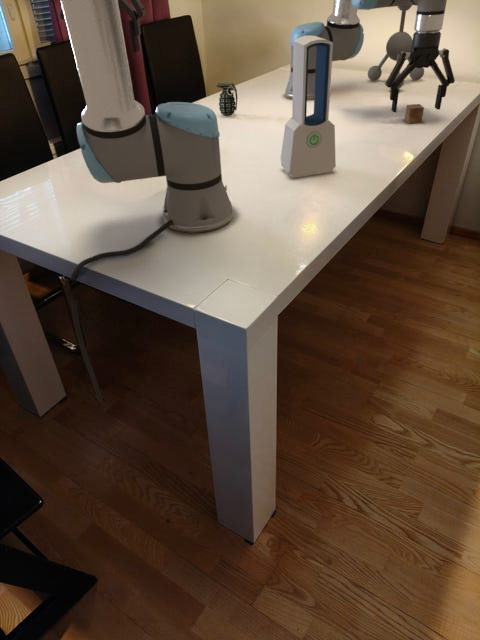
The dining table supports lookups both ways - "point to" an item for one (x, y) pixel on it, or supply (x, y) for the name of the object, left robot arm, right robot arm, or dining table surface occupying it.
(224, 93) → the grenade
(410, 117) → the block
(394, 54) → the molecular model
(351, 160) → the dining table surface
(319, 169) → the electronic device
